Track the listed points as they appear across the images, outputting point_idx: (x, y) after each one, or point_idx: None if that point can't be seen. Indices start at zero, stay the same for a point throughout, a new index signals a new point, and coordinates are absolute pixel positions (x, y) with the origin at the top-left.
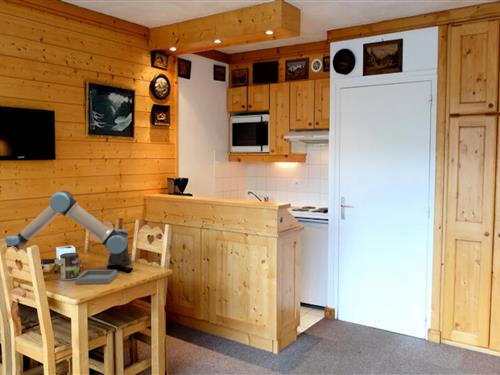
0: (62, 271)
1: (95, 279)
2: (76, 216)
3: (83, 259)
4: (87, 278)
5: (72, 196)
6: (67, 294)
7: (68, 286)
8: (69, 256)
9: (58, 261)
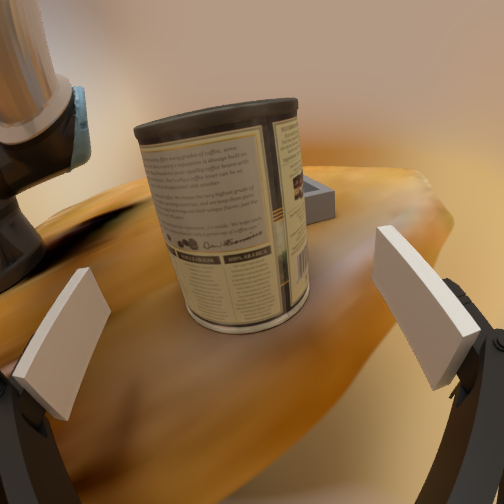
0: (305, 235)
1: None
2: None
3: None
4: (306, 176)
5: None
6: (420, 188)
7: (373, 218)
8: (274, 99)
9: (66, 342)
